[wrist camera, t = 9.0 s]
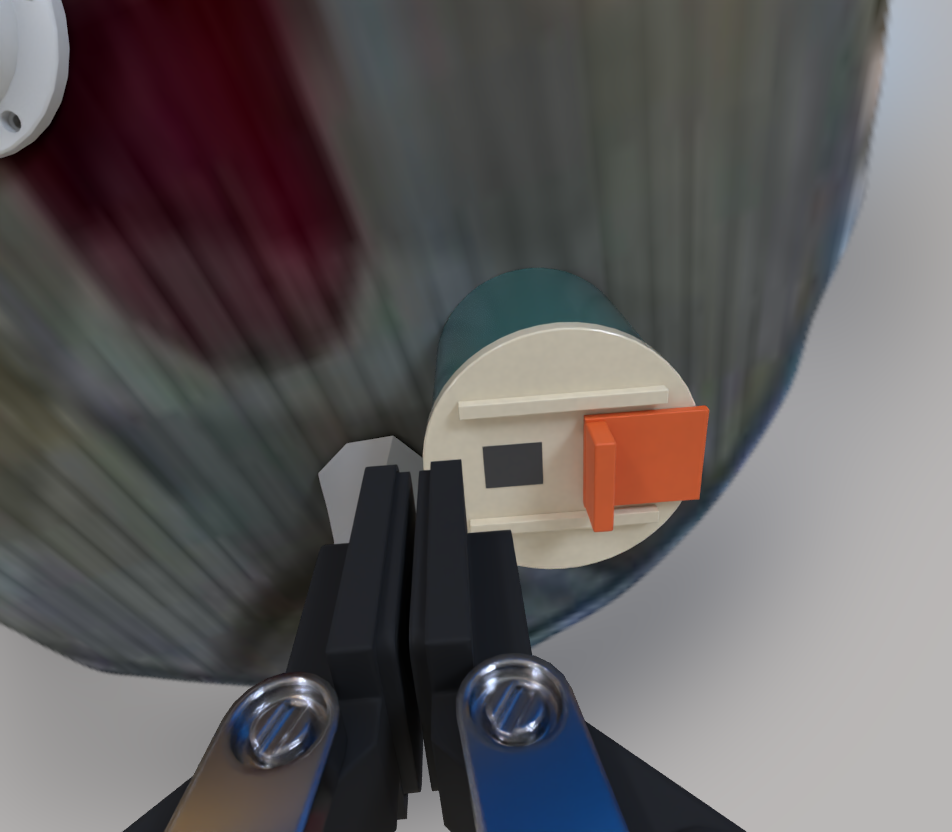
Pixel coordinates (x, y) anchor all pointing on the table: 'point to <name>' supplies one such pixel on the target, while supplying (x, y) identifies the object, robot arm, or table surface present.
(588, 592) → the table surface
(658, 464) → the slider
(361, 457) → the flask
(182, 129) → the table surface
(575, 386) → the sliding lid canister
